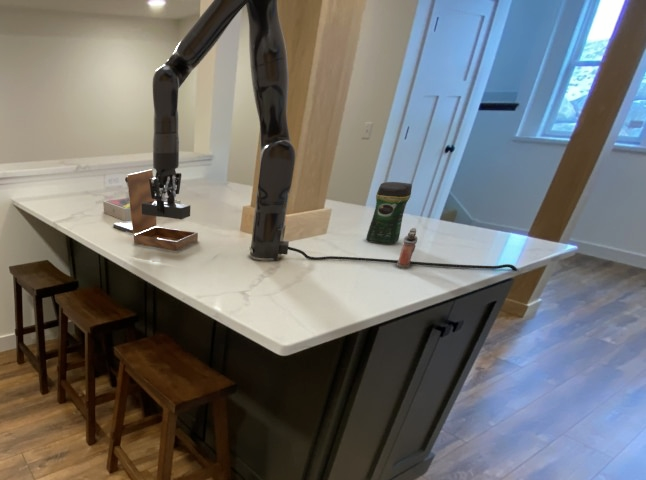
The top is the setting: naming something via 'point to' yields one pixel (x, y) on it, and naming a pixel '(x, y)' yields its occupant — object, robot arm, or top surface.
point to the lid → (140, 199)
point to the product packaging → (123, 207)
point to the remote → (166, 210)
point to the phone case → (125, 226)
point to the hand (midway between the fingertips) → (165, 211)
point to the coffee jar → (389, 212)
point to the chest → (166, 238)
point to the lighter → (407, 249)
